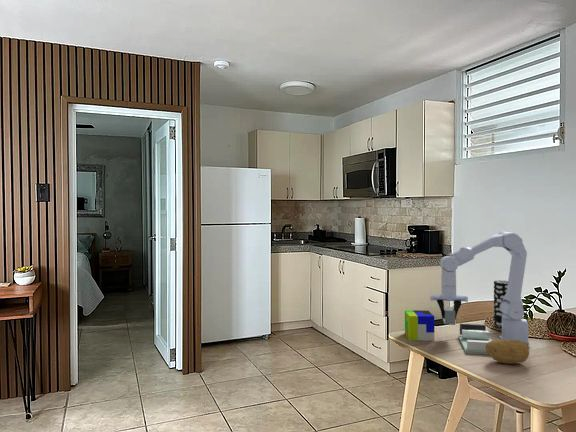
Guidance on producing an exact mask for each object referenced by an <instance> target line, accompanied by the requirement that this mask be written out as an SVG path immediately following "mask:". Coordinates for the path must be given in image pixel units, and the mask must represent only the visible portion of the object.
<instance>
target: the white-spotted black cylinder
mask: <svg viewBox="0 0 576 432" xmlns="http://www.w3.org/2000/svg"><path fill="white" fill-rule="evenodd" d="M507 286H508V280H494V281H493V326H494V325H496V326H500V327H502V315H503V313H502V312H501V311H500V304H501V302H502V301H503V297H504V296H505V294H506V293H507ZM496 326H495V327H496Z"/></svg>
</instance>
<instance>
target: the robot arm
mask: <svg viewBox="0 0 576 432" xmlns="http://www.w3.org/2000/svg"><path fill="white" fill-rule="evenodd" d="M523 242H524V241H523V238H522V237H520V236H519V234H517V233H515V232H508V231H499V233H495V234H492V235H491V236H490V237H488V238H486V239H484V240H482V241H480V242H479V243H477V244H475V245H473V246H471V247H467V246H465V247H464V246H461V247H459V249H458V250H457V251H454V252H453V253H452V252H450V253H449V254H448V255H446V256H445V255H444V256H443V257H442V258H441V259H440V261H439V266H440V268H441V274H440V275H441V282H440V283H441V284H440V285H441V287H440V288H441V294H430V295H429V299H430V301H432V302H434V301H436V302H437V305H438V307H439V310H440V313H441V314H440V315H441V319H442V320H443V319H444V306H445V302H446V301H447V302H453V308H454V310H455V320H457V316H458V313H459V310H460V308H461V306H462V302H465V303H469V298H468V295H457V274H456V273H457V269H458V267H460V266H463V265H465V264H467V263H470V262H471V261H473V260H474V259H475V255H478V254H480V253H482V252H485V251H486V250H488V249H489V250H490V249H491V248H494V247H495V248H503V249H504V250H506V251H507V252H508V254H510V255H511V260H510V266H509V272H508V273H509V274H508V278H507V279H508V280H507V281H508V286H507V293H506V294H505V296H504V297H503V301H502V302H501V304H500V311H501V312H502V313H503V315H502V328H501V335H498V337H499V340H504V339H508V340H517V341H523V342H525V343H526V344H530V343H529V323H528V319H525V318H523V317H524V315H525V310H524V308H523V304H524V302H523V300H522V290H523V284H524V276H525V271H526V270H525V269H526V263H527V262H526V261H527V257H528V253H527V250H526V247H525V245H524V243H523Z"/></svg>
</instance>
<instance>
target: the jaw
mask: <svg viewBox="0 0 576 432" xmlns="http://www.w3.org/2000/svg"><path fill="white" fill-rule="evenodd" d="M460 335H461V337H462V338H466V339H484V340H489V338H490V331H489V330H487V327H486V324H481V323H479V324H478V323H476V324H475V323H459V336H460Z"/></svg>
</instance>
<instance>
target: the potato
mask: <svg viewBox="0 0 576 432" xmlns="http://www.w3.org/2000/svg"><path fill="white" fill-rule="evenodd" d="M485 348H486V351H487V353H488V354H489V355H488V356H490V357H491V358H492V359H493V360H495V361H496V362H497V363H501V364H505V365H513V364H514V365H515V364H519V363H524V362H525V361H526V360H527V359H528V358H529V356H530V347H529V345H528V343H525V342H523V341H517V340H508V339H504V340H501V339H494V340H492V341H490V342H488V343H487V344H486V347H485Z"/></svg>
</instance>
